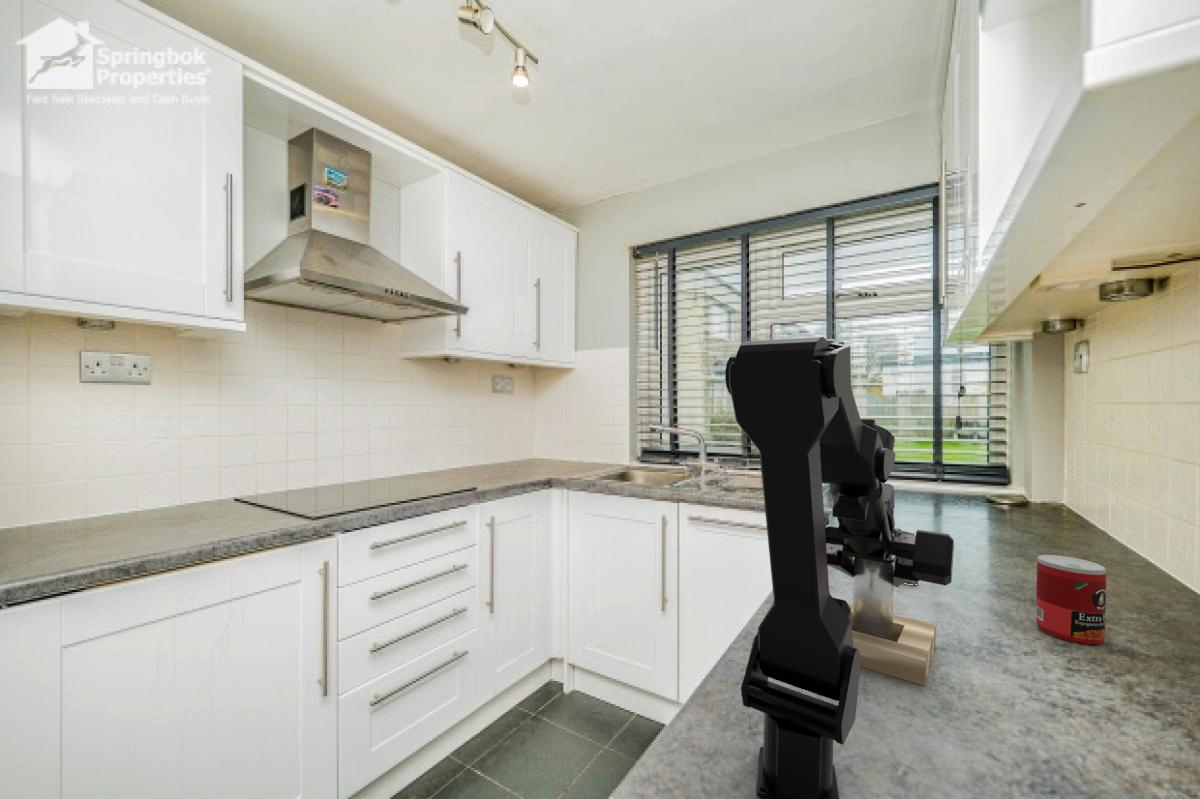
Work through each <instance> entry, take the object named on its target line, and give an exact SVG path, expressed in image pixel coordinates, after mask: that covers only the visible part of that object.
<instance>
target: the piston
mask: <svg viewBox="0 0 1200 799" xmlns="http://www.w3.org/2000/svg"><path fill="white" fill-rule="evenodd" d="M853 559H854V578H853V581H852V582H853V583H852V584H853V588H852V604H853V619H852V626H853V627H854V628H855V629H856V630H858V631H860V632H862V633H865V634H868V635H872V636H879V637H888V636H891V635H892V634H893V614H894V598H895V597H894V594H895V593H894V592H895V590H894V589H895V586H894V585H893V578H894V562H895V555H892V558H891V560H885V562H884V563H882V562H877V561H872V560H866V559H861V558H856V557H853Z"/></svg>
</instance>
